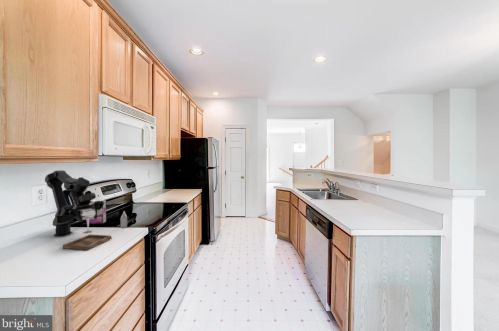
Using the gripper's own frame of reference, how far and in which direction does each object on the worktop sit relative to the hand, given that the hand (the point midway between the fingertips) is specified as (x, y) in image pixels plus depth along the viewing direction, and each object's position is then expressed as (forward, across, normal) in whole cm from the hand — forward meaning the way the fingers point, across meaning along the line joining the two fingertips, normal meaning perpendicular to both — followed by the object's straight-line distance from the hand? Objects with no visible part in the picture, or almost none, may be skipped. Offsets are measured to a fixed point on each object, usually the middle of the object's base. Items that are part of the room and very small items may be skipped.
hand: (89, 220), depth 116 cm
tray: (+8, 0, +10) cm, 13 cm away
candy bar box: (-18, +22, +38) cm, 48 cm away
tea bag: (-1, +28, +20) cm, 35 cm away
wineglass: (+4, 0, +6) cm, 7 cm away
